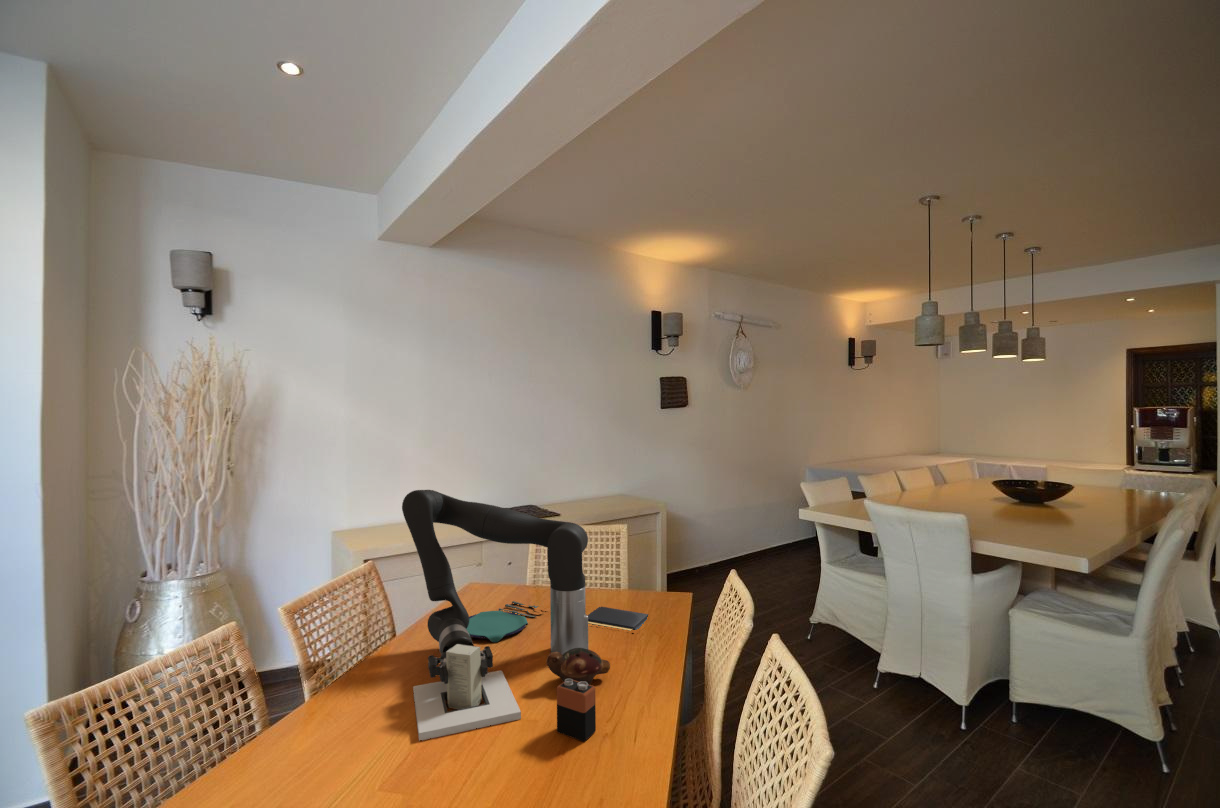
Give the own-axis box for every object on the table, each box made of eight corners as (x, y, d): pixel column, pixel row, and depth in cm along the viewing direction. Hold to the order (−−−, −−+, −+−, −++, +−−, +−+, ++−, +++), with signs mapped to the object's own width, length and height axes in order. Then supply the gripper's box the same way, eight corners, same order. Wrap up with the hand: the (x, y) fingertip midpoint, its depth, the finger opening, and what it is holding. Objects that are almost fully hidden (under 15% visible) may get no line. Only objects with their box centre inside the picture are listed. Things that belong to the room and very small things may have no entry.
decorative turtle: (540, 680, 133) (542, 645, 134) (600, 673, 139) (601, 639, 140) (552, 697, 124) (553, 660, 125) (615, 689, 130) (616, 653, 131)
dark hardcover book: (656, 613, 173) (635, 630, 159) (656, 619, 173) (635, 637, 159) (599, 603, 182) (574, 619, 168) (599, 609, 182) (574, 625, 168)
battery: (584, 743, 108) (584, 690, 108) (555, 732, 112) (555, 682, 112) (596, 732, 112) (596, 681, 112) (568, 722, 115) (568, 673, 115)
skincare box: (482, 702, 123) (482, 646, 123) (470, 713, 119) (470, 655, 119) (457, 697, 125) (457, 642, 125) (445, 707, 121) (445, 651, 121)
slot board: (501, 676, 135) (501, 670, 135) (520, 718, 117) (520, 711, 117) (413, 693, 128) (413, 686, 128) (418, 741, 109) (418, 733, 109)
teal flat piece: (442, 634, 161) (442, 626, 161) (509, 604, 187) (509, 597, 187) (496, 649, 151) (496, 640, 151) (559, 615, 177) (559, 607, 177)
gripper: (424, 634, 133) (430, 664, 118) (486, 625, 138) (499, 652, 123) (424, 666, 133) (430, 700, 117) (486, 656, 138) (499, 687, 123)
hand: (465, 675), depth 120 cm, fingers closed on skincare box, 7 cm apart
